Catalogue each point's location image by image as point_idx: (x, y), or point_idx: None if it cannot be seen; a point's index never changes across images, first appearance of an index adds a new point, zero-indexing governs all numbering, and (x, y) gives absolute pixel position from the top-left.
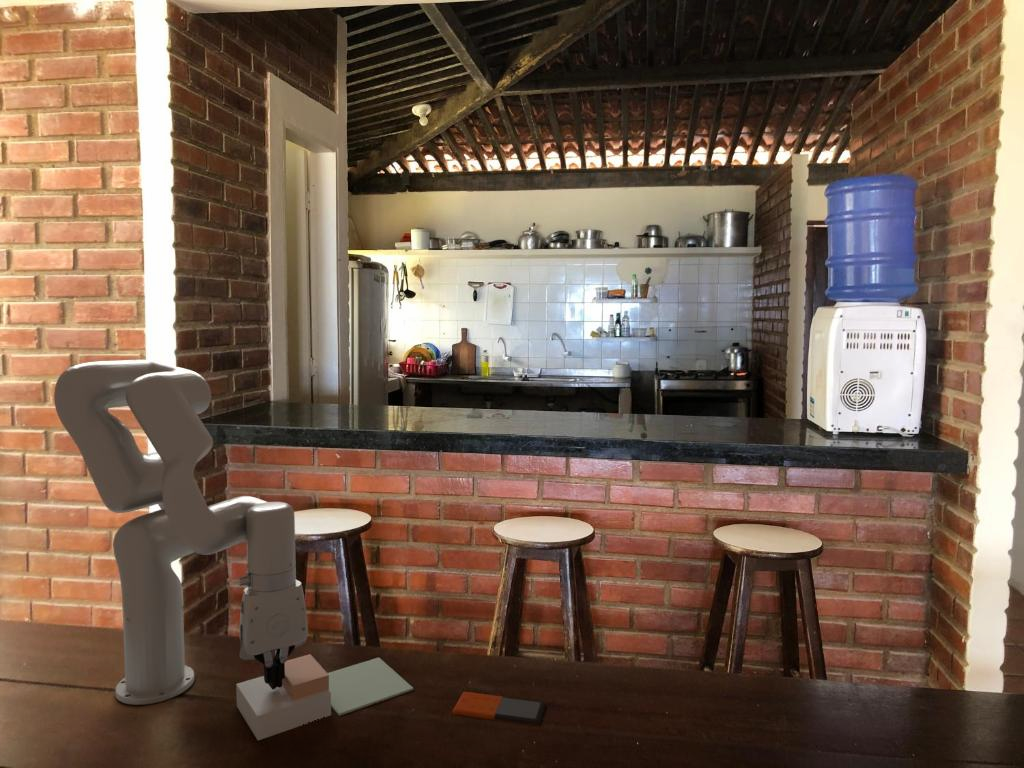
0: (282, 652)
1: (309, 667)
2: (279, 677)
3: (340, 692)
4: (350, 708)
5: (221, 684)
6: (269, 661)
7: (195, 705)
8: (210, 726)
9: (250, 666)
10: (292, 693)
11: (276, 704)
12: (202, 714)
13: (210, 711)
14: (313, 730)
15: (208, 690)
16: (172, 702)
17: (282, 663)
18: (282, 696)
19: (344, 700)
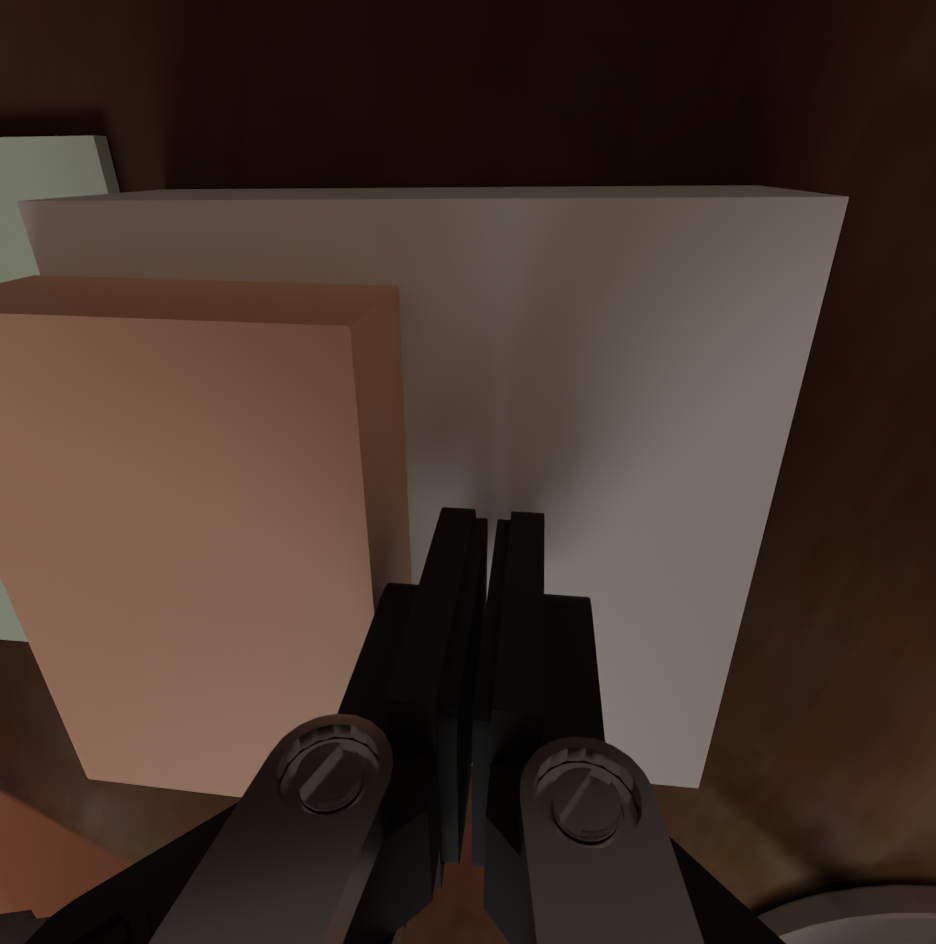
0: (296, 923)
1: (109, 596)
2: (455, 573)
3: None
4: (1, 159)
5: None
6: (576, 834)
7: (835, 780)
8: (898, 564)
9: (465, 890)
10: (384, 331)
11: (570, 317)
12: (857, 694)
13: (807, 694)
14: (331, 45)
15: (712, 845)
16: (905, 855)
17: (363, 727)
18: (468, 425)
19: None
